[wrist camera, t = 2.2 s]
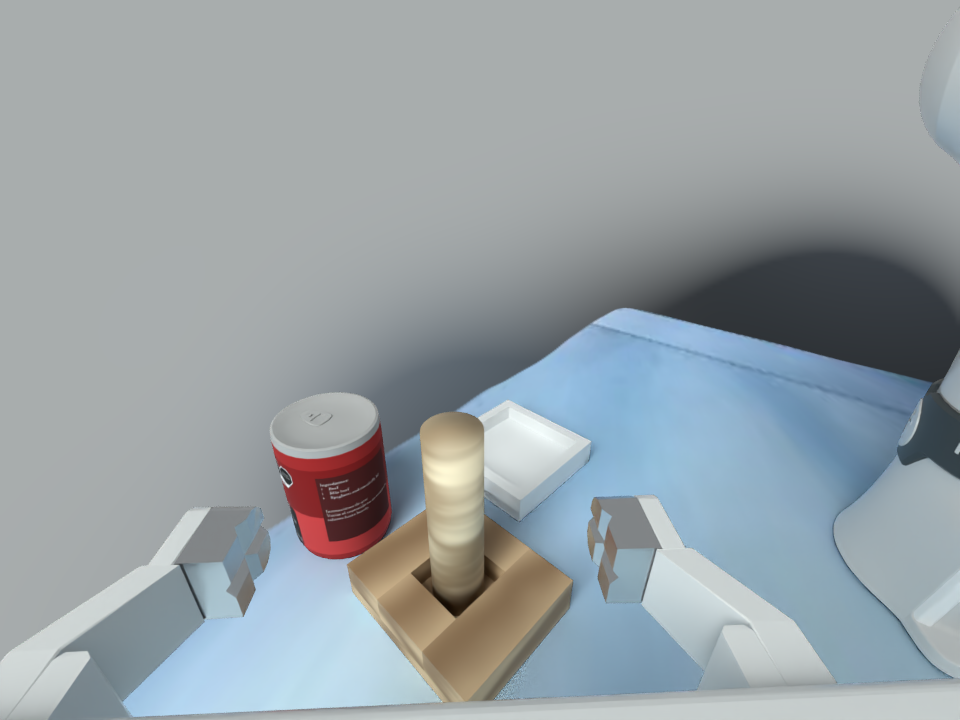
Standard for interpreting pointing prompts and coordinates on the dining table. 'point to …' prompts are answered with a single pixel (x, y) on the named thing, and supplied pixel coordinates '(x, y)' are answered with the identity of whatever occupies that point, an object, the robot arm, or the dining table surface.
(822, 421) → the dining table surface
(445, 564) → the dowel
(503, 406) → the tray
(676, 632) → the robot arm
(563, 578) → the socket block
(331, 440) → the canned food
